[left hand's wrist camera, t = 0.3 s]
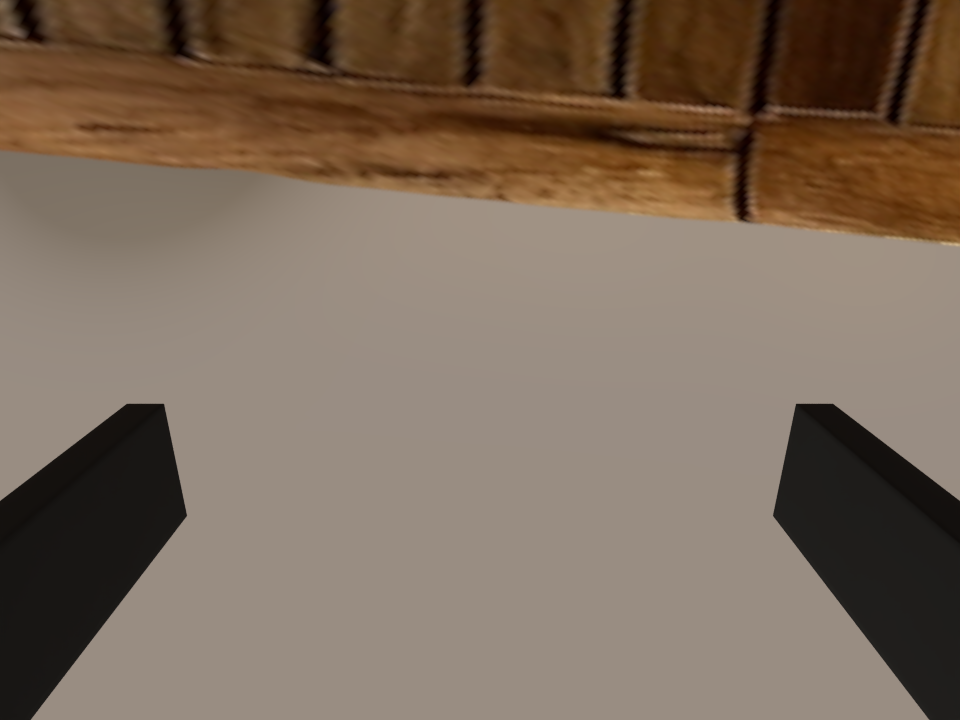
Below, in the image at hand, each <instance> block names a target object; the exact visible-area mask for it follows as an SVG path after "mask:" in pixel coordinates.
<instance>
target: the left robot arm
mask: <svg viewBox="0 0 960 720" xmlns="http://www.w3.org/2000/svg"><path fill="white" fill-rule="evenodd" d="M186 516H187V514H186V509H185V504H184V499H183V494H182V489H181V484H180V480H179V475H178V470H177V465H176V460H175V455H174V451H173V446H172V441H171V436H170V431H169V426H168V421H167V417H166V412H165V407H164V404H126V405H125V406H124V407H122V408H121V409H120V410H118V411H117V412H116V413H114V414H113V415H112V416H111V417H109V418H108V419H107V420H105V421H104V422H103V423H101V424H100V425H99V426H98V427H96V428H95V429H94V430H92V431H91V432H90V433H88V434H87V435H86V436H84V437H83V438H82V439H81V440H79V441H78V442H77V443H75V444H74V445H73V446H71V447H70V448H69V449H68V450H66V451H65V452H64V453H62V454H61V455H60V456H58V457H57V458H56V459H54V460H53V461H52V462H50V463H49V464H48V465H47V466H45V467H44V468H43V469H41V470H40V471H39V472H37V473H36V474H35V475H34V476H32V477H31V478H30V479H28V480H27V481H26V482H24V483H23V484H22V485H21V486H19V487H18V488H17V489H15V490H14V491H13V492H11V493H10V494H9V495H7V496H6V497H5V498H3V499H2V500H1V501H0V720H31V719H32V717H33V716H34V715H35V713H36V712H37V711H38V709H39V708H40V707H41V705H42V704H43V703H44V702H45V700H46V699H47V698H48V696H49V695H50V694H51V692H52V691H53V690H54V689H55V687H56V686H57V685H58V683H59V682H60V681H61V679H62V678H63V677H64V676H65V674H66V673H67V672H68V670H69V669H70V668H71V666H72V665H73V664H74V662H75V661H76V660H77V659H78V657H79V656H80V655H81V653H82V652H83V651H84V649H85V648H86V647H87V645H88V644H89V643H90V642H91V640H92V639H93V638H94V636H95V635H96V634H97V632H98V631H99V630H100V629H101V627H102V626H103V625H104V623H105V622H106V621H107V619H108V618H109V617H110V616H111V614H112V613H113V612H114V610H115V609H116V608H117V606H118V605H119V604H120V602H121V601H122V600H123V598H124V597H125V596H126V595H127V593H128V592H129V591H130V589H131V588H132V587H133V585H134V584H135V583H136V582H137V580H138V579H139V578H140V576H141V575H142V574H143V572H144V571H145V570H146V569H147V567H148V566H149V565H150V563H151V562H152V561H153V559H154V558H155V557H156V556H157V554H158V553H159V552H160V550H161V549H162V548H163V546H164V545H165V544H166V542H167V541H168V540H169V539H170V537H171V536H172V535H173V533H174V532H175V531H176V529H177V528H178V527H179V526H180V524H181V523H182V522H183V520H184V519H185V518H186ZM773 516H774V518H775V519H776V520H777V521H778V523H779V524H780V526H781V527H782V528H783V529H784V531H785V532H786V533H787V535H788V536H789V537H790V539H791V540H792V541H793V542H794V544H795V545H796V546H797V548H798V549H799V550H800V552H801V553H802V554H803V555H804V557H805V558H806V559H807V561H808V562H809V563H810V565H811V566H812V567H813V569H814V570H815V571H816V572H817V574H818V575H819V576H820V578H821V579H822V580H823V582H824V583H825V584H826V586H827V587H828V588H829V589H830V591H831V592H832V593H833V595H834V596H835V597H836V599H837V600H838V601H839V602H840V604H841V605H842V606H843V608H844V609H845V610H846V612H847V613H848V614H849V616H850V617H851V618H852V619H853V621H854V622H855V623H856V625H857V626H858V627H859V629H860V630H861V631H862V632H863V634H864V635H865V636H866V638H867V639H868V640H869V642H870V643H871V644H872V645H873V647H874V648H875V649H876V651H877V652H878V653H879V655H880V656H881V657H882V658H883V660H884V661H885V662H886V664H887V665H888V666H889V668H890V669H891V670H892V672H893V673H894V674H895V676H896V677H897V678H898V679H899V681H900V682H901V683H902V685H903V686H904V687H905V689H906V690H907V691H908V692H909V694H910V695H911V696H912V698H913V699H914V700H915V702H916V703H917V704H918V706H919V707H920V708H921V709H922V711H923V712H924V713H925V715H926V716H927V717H928V719H929V720H960V501H959V500H958V499H957V498H955V497H954V496H953V495H951V494H950V493H949V492H947V491H946V490H945V489H943V488H942V487H941V486H940V485H938V484H937V483H936V482H934V481H933V480H932V479H930V478H929V477H928V476H926V475H925V474H924V473H923V472H921V471H920V470H919V469H917V468H916V467H915V466H913V465H912V464H911V463H910V462H908V461H907V460H906V459H904V458H903V457H902V456H900V455H899V454H898V453H896V452H895V451H894V450H893V449H891V448H890V447H889V446H887V445H886V444H885V443H883V442H882V441H881V440H880V439H878V438H877V437H875V436H874V435H873V434H872V433H870V432H869V431H868V430H866V429H865V428H864V427H863V426H861V425H860V424H859V423H857V422H856V421H855V420H853V419H852V418H851V417H849V416H848V415H847V414H845V413H844V412H843V411H842V410H840V409H839V408H838V407H836V406H835V405H834V404H796V407H795V412H794V417H793V421H792V426H791V431H790V436H789V441H788V446H787V450H786V455H785V460H784V465H783V470H782V475H781V480H780V484H779V489H778V494H777V499H776V504H775V509H774V514H773Z"/></svg>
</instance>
